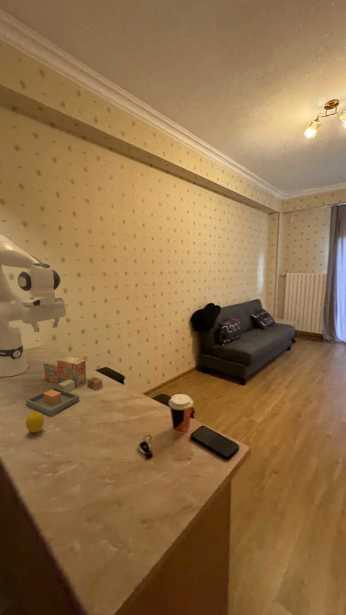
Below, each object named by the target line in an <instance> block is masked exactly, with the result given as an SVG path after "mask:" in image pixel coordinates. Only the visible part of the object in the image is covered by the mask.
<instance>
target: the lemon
mask: <svg viewBox="0 0 346 615" xmlns="http://www.w3.org/2000/svg"><path fill="white" fill-rule="evenodd" d="M44 420H45V418H44V417H43V413H42V412H39V411H33V412H31V413H30V414H28V416H27V418H26V422H25V424H26V426H25V427H26V429H27V430H28V431H29V432H30V433H34V434H35V433H38V432H39V431H40V430H41V429H42V428H43V426H44V423H45V421H44Z"/></svg>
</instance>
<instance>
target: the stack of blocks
mask: <svg viewBox="0 0 346 615" xmlns="http://www.w3.org/2000/svg"><path fill="white" fill-rule="evenodd" d="M86 363H87V362H86V359H82V358H77V357H73V356H64V357H61V358H60V359H51V360H48V361H46V362H43V370H44V371H43V372H44V380H45V381H49V382H52V383H56V384H59V383H61V382H64V381H66V380H69V379H70V380H73V381H75V388H80V387H81V386H83V385H84V384H87V369H86V368H87V366H86Z"/></svg>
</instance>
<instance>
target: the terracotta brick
mask: <svg viewBox="0 0 346 615" xmlns="http://www.w3.org/2000/svg"><path fill="white" fill-rule="evenodd" d="M46 391H47V390H46ZM44 392H45V391H44ZM42 393H43V392H42ZM43 394H44V402H45V403H48V404H50V405H53V406H54V405H56V404H58V403H60V402H61V393H60V392H57V391H54V390H50V391H47V392H45V393H43Z"/></svg>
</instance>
